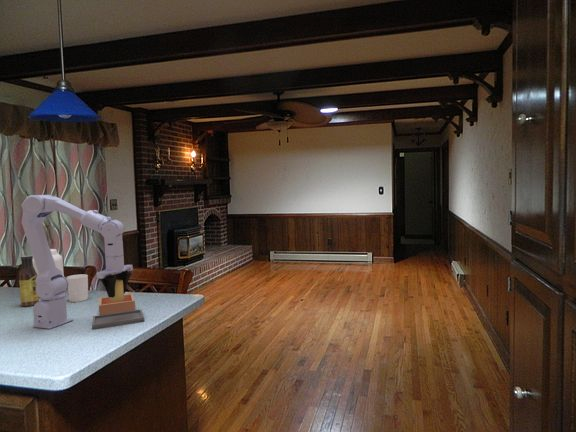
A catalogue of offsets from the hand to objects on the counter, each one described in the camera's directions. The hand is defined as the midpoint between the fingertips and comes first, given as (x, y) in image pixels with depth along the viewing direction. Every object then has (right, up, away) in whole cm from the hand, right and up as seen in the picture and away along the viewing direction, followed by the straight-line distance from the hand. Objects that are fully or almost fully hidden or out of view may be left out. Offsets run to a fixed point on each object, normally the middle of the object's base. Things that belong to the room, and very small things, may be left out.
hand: (116, 295), depth 142 cm
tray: (0, -9, +1) cm, 9 cm away
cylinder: (0, -2, 0) cm, 2 cm away
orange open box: (-6, -8, +14) cm, 17 cm away
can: (-48, -8, +43) cm, 65 cm away
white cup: (-29, -8, +31) cm, 43 cm away
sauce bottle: (-46, -9, +26) cm, 53 cm away
